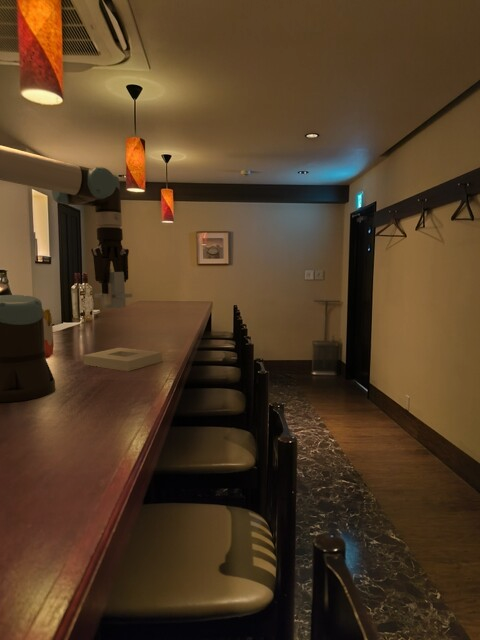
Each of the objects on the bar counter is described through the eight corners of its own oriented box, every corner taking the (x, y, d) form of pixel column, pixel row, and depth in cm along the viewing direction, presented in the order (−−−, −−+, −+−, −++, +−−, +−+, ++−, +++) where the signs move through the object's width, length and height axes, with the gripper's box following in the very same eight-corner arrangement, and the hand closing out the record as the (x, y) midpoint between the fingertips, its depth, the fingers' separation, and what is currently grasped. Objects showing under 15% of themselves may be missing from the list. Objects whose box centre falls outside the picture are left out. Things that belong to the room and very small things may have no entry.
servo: (123, 308, 127) (121, 268, 126) (95, 307, 133) (92, 269, 132) (132, 307, 131) (130, 268, 129) (105, 306, 137) (102, 268, 135)
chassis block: (128, 371, 123) (127, 361, 123) (83, 364, 133) (83, 355, 132) (162, 361, 136) (161, 352, 136) (119, 356, 146) (119, 347, 145)
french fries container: (55, 352, 154) (52, 303, 151) (49, 358, 143) (46, 305, 141) (41, 353, 152) (38, 303, 150) (34, 359, 142) (31, 305, 140)
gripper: (96, 224, 120) (101, 306, 123) (138, 228, 134) (141, 301, 137) (78, 226, 123) (83, 306, 126) (120, 230, 138) (124, 301, 141)
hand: (113, 303), depth 132 cm, fingers closed on servo, 4 cm apart
